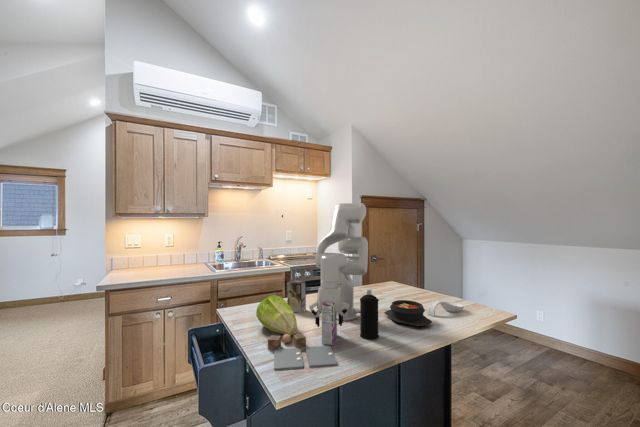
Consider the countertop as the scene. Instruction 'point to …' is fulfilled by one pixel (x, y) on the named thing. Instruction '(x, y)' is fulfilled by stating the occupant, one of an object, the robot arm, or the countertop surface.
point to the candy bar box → (329, 324)
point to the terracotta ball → (286, 338)
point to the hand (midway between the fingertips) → (329, 325)
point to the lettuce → (277, 315)
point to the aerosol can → (369, 316)
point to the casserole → (408, 313)
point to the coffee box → (296, 295)
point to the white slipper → (446, 305)
